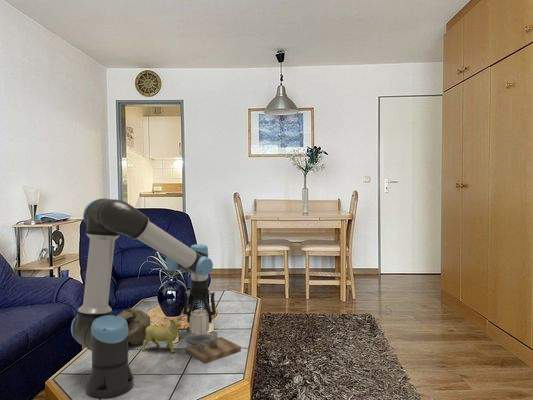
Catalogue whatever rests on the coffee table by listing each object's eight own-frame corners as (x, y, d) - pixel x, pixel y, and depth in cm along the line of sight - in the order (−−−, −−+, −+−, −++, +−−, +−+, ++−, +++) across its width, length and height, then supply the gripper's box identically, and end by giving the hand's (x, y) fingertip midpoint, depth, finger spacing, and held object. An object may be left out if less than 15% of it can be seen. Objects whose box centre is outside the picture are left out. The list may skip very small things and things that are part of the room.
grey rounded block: (193, 328, 190) (193, 308, 189) (208, 329, 189) (208, 309, 189) (189, 335, 181) (189, 314, 181) (205, 336, 181) (205, 315, 181)
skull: (100, 317, 171) (133, 324, 168) (128, 298, 192) (158, 304, 190) (98, 352, 173) (131, 359, 170) (126, 329, 195) (156, 335, 192)
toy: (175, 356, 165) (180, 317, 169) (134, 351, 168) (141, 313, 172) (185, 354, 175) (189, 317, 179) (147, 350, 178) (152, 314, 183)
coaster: (195, 346, 178) (195, 344, 178) (182, 339, 186) (182, 337, 186) (216, 340, 186) (216, 338, 186) (202, 333, 194) (202, 331, 194)
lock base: (205, 363, 162) (205, 343, 162) (186, 352, 172) (185, 333, 172) (240, 351, 174) (240, 332, 174) (220, 341, 184) (221, 323, 184)
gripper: (222, 277, 188) (222, 327, 189) (179, 276, 189) (179, 326, 190) (220, 281, 181) (220, 333, 182) (175, 280, 182) (175, 332, 183)
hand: (199, 329), depth 186 cm, fingers closed on grey rounded block, 7 cm apart
